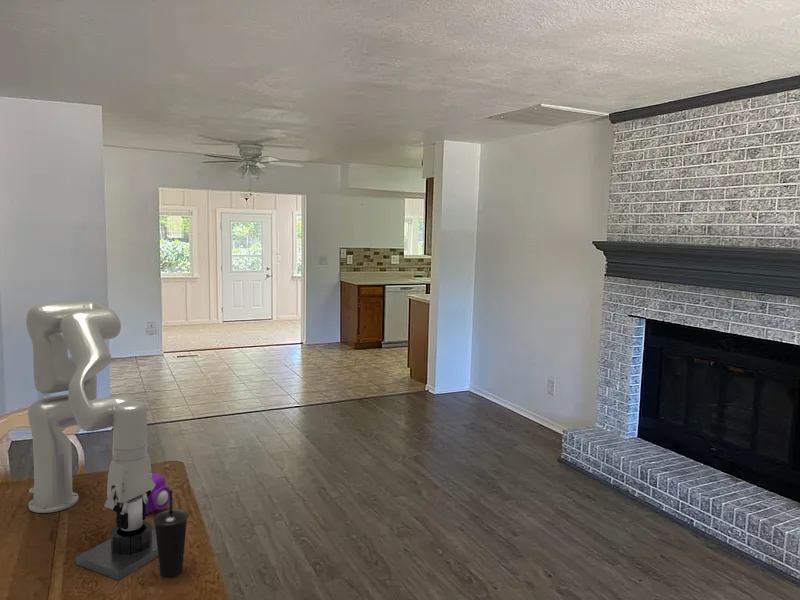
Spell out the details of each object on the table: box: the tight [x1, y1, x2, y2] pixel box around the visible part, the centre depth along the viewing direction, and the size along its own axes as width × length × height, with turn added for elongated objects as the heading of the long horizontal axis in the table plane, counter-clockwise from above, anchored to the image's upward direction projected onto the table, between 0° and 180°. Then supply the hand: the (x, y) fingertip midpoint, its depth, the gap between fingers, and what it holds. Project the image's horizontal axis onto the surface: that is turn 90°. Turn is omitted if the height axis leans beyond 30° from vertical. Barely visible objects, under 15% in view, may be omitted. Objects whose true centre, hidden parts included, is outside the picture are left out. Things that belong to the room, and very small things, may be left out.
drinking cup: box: [152, 489, 189, 579], centre depth 140 cm, size 8×8×20 cm
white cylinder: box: [120, 496, 143, 531], centre depth 148 cm, size 5×5×7 cm
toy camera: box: [146, 472, 171, 515], centre depth 172 cm, size 11×14×10 cm
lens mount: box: [75, 520, 159, 581], centre depth 149 cm, size 14×20×6 cm
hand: (131, 522), depth 149 cm, fingers closed on white cylinder, 4 cm apart
